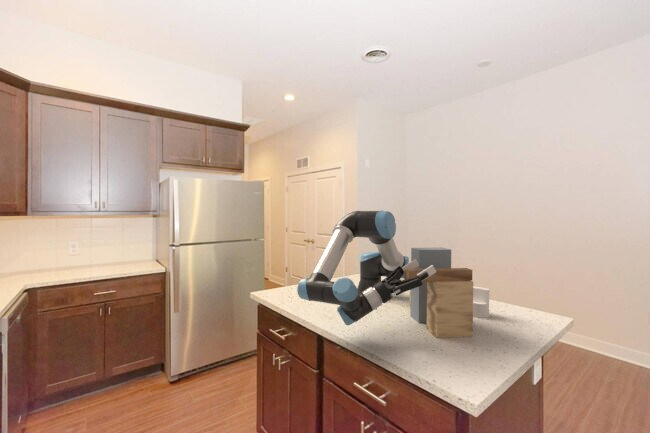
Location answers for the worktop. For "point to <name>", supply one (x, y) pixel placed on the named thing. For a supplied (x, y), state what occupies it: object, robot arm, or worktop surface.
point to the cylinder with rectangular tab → (480, 302)
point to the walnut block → (442, 274)
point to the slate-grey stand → (419, 294)
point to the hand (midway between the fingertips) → (425, 265)
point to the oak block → (450, 308)
